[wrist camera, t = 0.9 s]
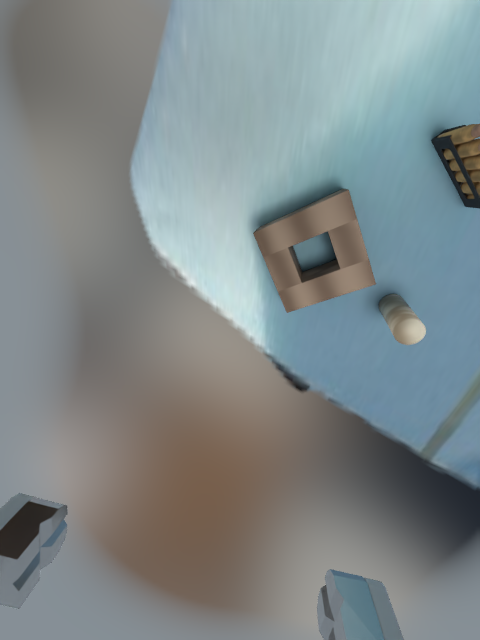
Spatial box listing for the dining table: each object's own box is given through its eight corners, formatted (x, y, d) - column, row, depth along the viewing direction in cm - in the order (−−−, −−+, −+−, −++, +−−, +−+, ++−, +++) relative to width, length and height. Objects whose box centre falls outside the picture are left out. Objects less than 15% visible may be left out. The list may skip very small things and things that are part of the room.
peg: (401, 290, 47) (422, 316, 38) (406, 311, 48) (428, 340, 39) (376, 298, 48) (391, 324, 39) (381, 318, 49) (397, 347, 41)
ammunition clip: (430, 140, 37) (478, 125, 27) (445, 129, 36) (500, 109, 26) (465, 207, 40) (521, 217, 29) (480, 198, 39) (543, 205, 28)
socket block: (343, 188, 42) (348, 189, 37) (368, 272, 46) (375, 284, 41) (259, 227, 47) (253, 233, 42) (289, 299, 52) (286, 312, 46)
